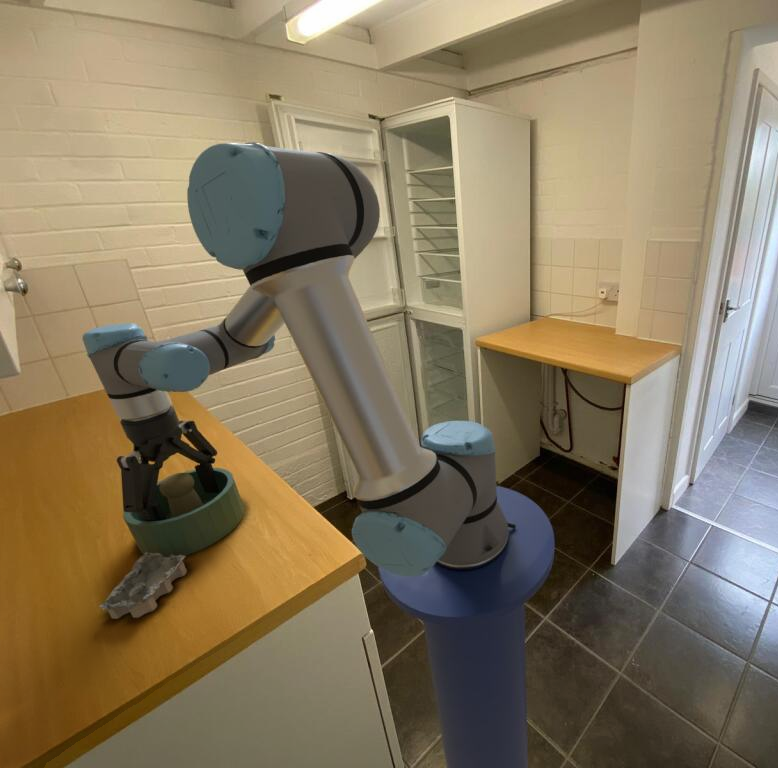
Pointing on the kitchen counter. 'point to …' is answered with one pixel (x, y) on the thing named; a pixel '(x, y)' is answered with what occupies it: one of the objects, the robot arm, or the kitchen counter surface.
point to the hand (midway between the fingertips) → (189, 510)
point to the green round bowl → (190, 519)
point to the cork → (180, 494)
